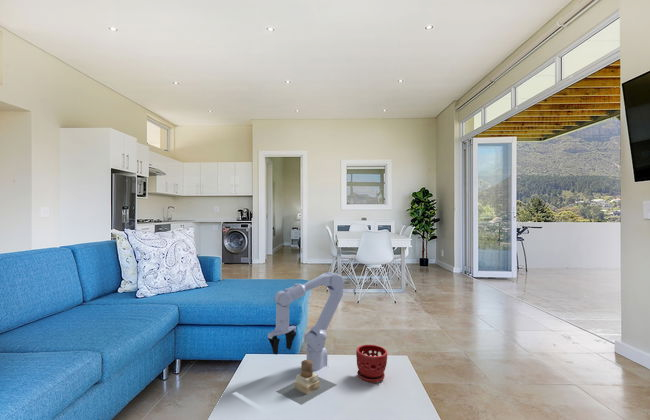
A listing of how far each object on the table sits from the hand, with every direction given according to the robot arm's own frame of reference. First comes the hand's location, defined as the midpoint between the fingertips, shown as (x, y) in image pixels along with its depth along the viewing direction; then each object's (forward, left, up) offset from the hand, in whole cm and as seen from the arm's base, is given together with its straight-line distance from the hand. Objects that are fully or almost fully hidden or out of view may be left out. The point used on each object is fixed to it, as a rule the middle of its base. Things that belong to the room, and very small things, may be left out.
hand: (282, 351), depth 146 cm
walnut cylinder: (+2, +17, -4) cm, 18 cm away
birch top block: (+2, +17, -7) cm, 19 cm away
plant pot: (-24, +30, -11) cm, 40 cm away
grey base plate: (+2, +17, -10) cm, 20 cm away
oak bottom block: (+2, +17, -9) cm, 20 cm away
